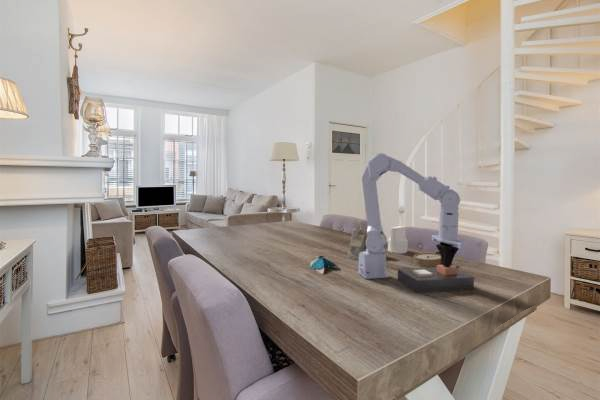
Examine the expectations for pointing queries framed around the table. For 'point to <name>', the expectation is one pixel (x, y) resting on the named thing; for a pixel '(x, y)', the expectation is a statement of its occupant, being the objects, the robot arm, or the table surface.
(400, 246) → the cream upright block
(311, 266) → the decorative butterfly
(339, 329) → the table surface
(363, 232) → the ceramic cottage
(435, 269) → the grey flat block
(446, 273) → the red key
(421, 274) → the cream key
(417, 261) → the alarm clock
